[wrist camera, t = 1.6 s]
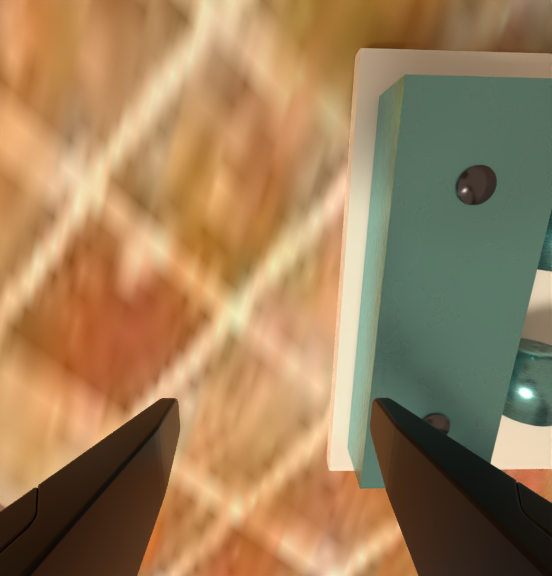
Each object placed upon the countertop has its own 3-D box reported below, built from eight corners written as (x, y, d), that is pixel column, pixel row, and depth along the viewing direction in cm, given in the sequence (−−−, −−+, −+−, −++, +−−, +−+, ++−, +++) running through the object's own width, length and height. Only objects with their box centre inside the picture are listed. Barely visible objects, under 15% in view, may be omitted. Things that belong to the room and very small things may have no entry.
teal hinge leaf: (511, 446, 21) (555, 492, 18) (347, 448, 21) (362, 494, 18) (600, 101, 16) (687, 78, 13) (379, 96, 15) (409, 70, 12)
